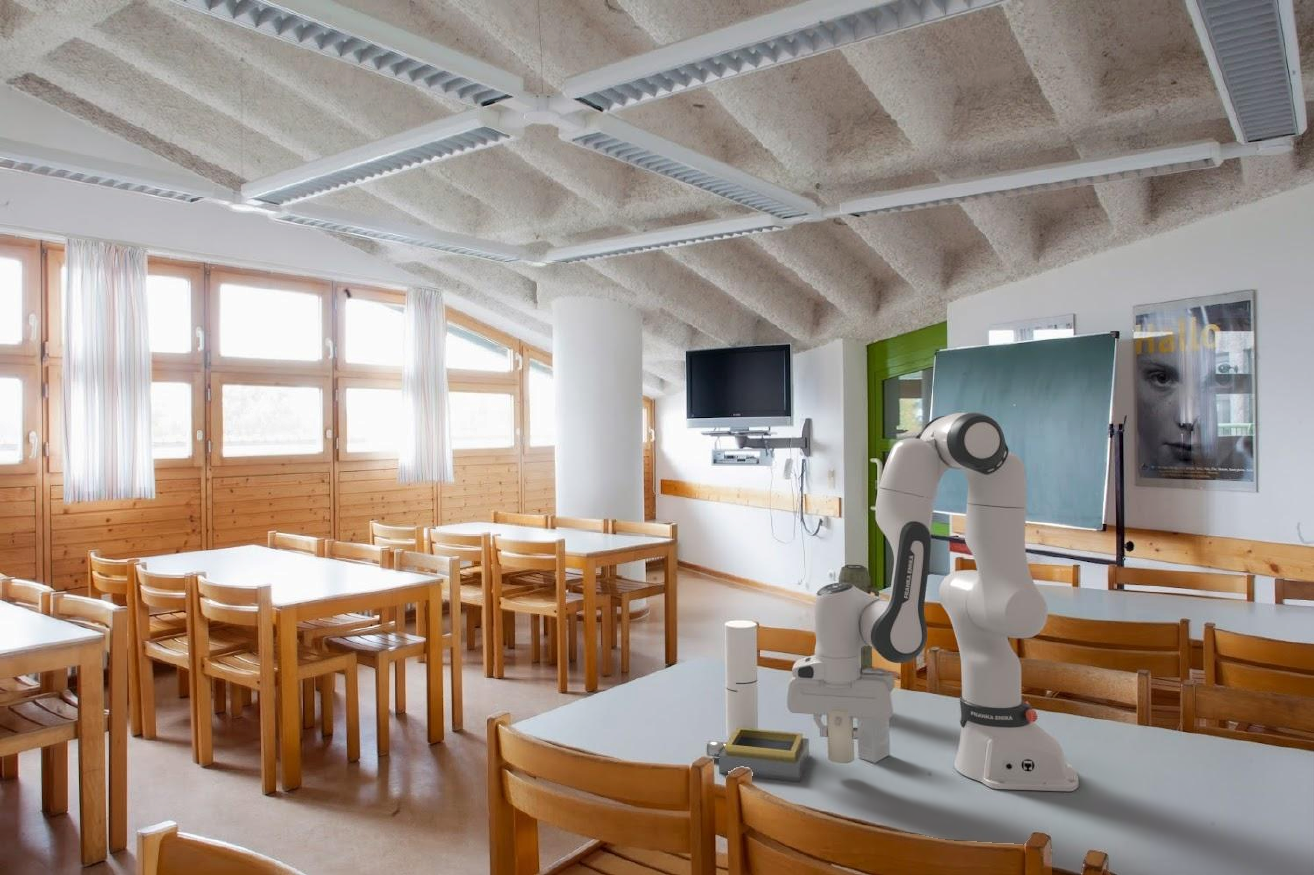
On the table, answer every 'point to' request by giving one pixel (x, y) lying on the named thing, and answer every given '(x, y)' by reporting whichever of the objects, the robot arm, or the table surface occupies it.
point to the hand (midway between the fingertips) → (840, 737)
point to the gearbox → (763, 753)
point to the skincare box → (874, 740)
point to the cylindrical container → (741, 675)
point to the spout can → (840, 737)
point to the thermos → (862, 581)
